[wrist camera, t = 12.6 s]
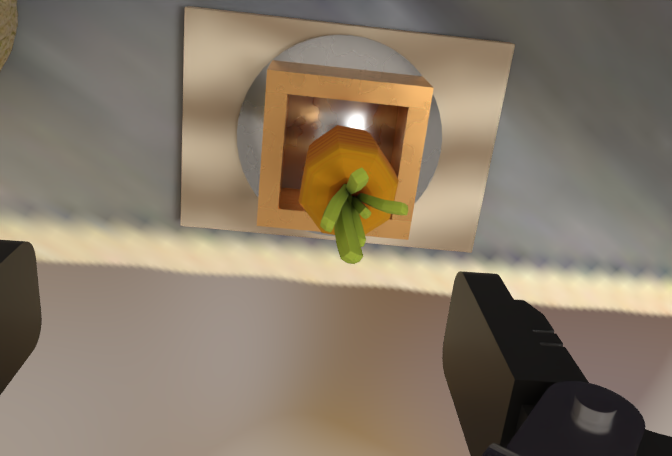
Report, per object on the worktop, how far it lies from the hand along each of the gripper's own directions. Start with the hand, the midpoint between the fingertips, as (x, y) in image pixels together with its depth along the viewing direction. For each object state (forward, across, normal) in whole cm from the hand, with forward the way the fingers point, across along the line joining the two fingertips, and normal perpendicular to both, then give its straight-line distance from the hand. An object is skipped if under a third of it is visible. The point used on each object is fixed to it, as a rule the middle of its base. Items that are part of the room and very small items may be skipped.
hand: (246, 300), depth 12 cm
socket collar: (+29, -3, +4) cm, 29 cm away
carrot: (+29, -3, +4) cm, 29 cm away
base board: (+30, -3, +4) cm, 31 cm away
